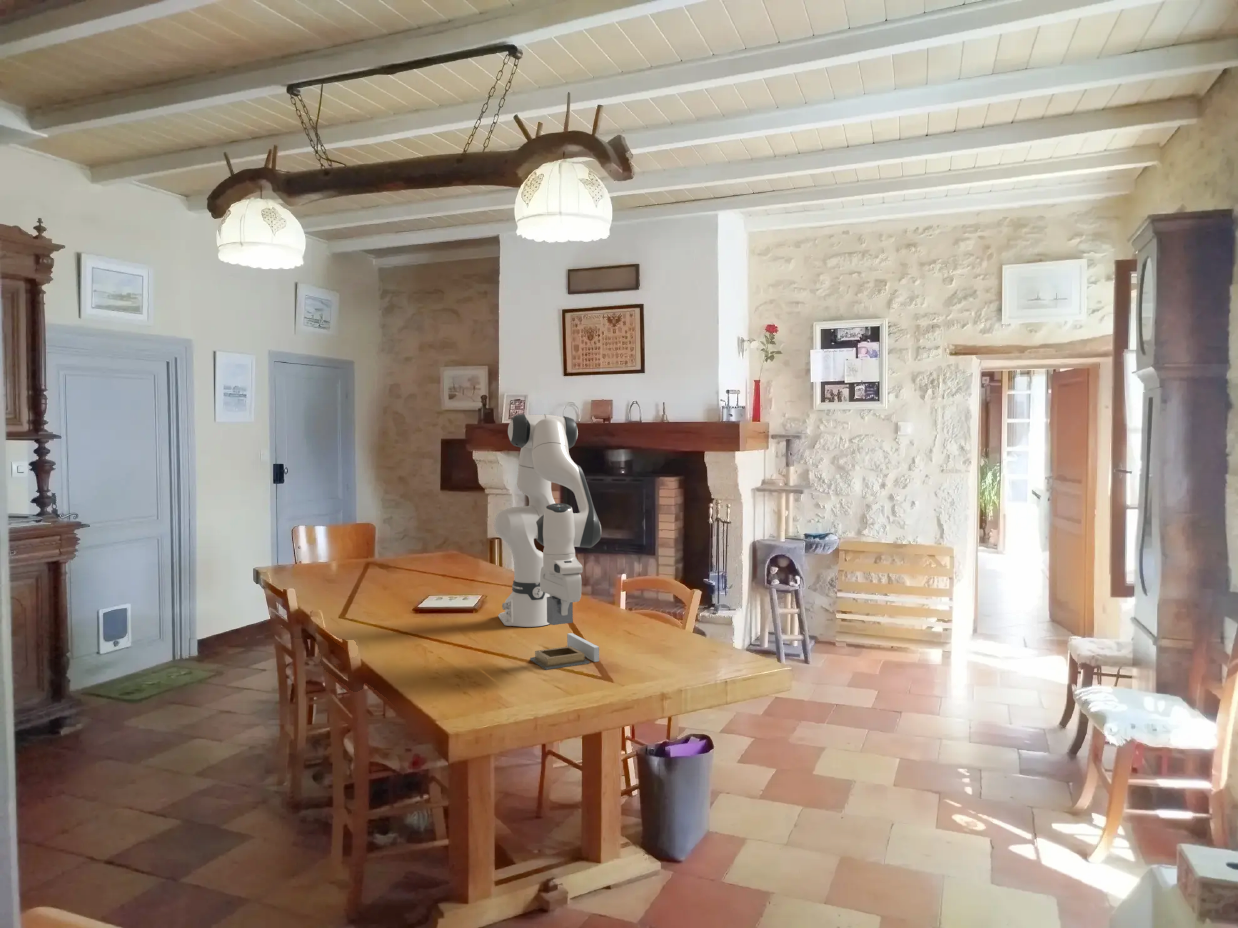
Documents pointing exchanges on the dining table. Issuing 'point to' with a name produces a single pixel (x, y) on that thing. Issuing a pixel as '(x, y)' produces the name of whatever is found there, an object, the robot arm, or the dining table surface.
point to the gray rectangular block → (558, 612)
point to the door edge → (583, 647)
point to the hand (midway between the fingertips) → (559, 612)
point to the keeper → (559, 657)
